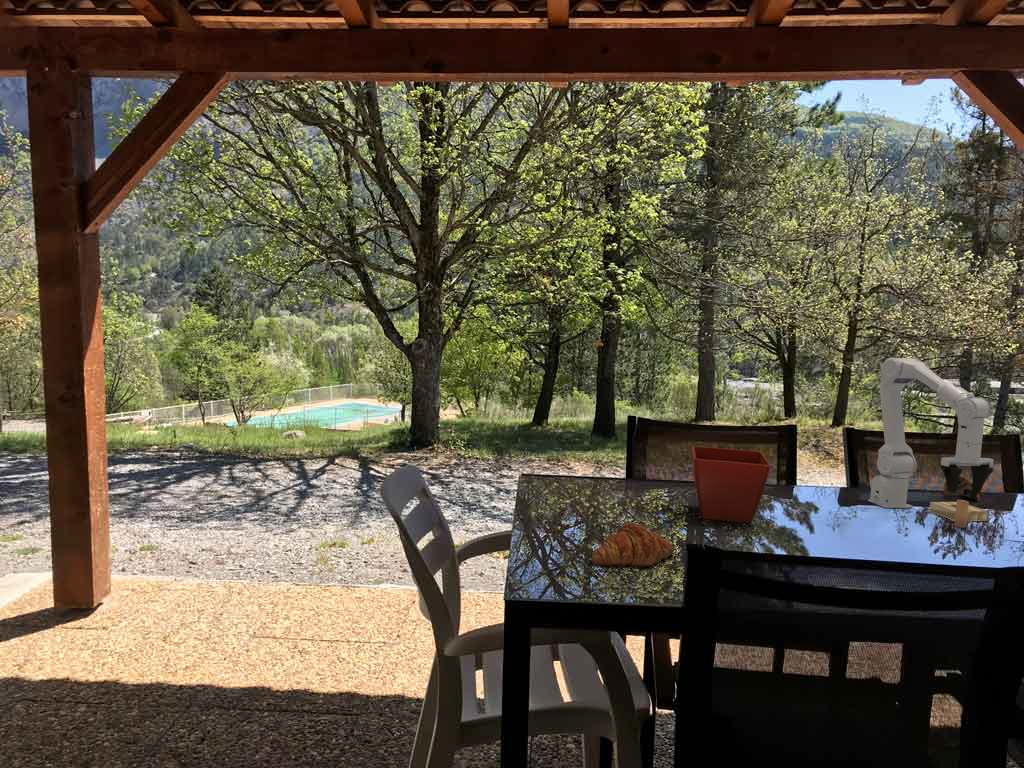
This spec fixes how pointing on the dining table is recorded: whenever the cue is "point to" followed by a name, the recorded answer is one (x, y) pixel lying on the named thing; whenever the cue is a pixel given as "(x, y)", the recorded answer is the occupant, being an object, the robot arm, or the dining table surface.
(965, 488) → the pottery mug
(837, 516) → the dining table surface
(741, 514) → the plant pot
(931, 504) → the bore block
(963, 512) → the pin
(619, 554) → the pastry
